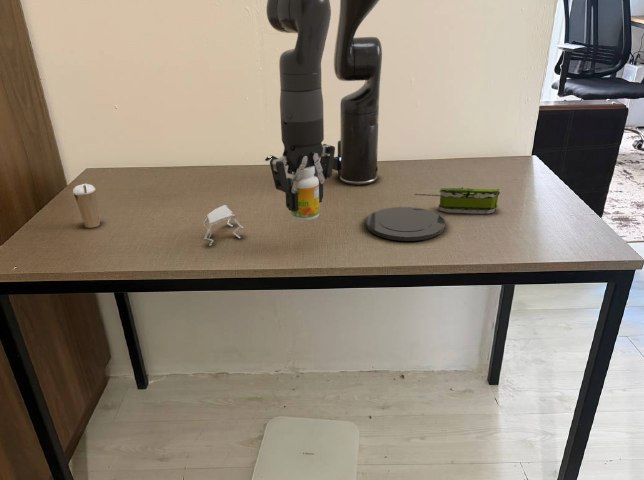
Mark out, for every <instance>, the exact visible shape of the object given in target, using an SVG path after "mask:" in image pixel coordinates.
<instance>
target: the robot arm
mask: <svg viewBox="0 0 644 480" xmlns="http://www.w3.org/2000/svg"><path fill="white" fill-rule="evenodd" d="M379 2H380V0H339V15H338V23H337V30H336V36H335V44H334V53H333V71H334V75H335V78H337V80H339V81H342V82H360V81H361V82H362V81H364V83H363V84H362V85H361V86H360V88H358V89H357V90H355V91H354V92H351V93H349V94H347V95H345V96H343V97H342V98H341V99H340V103H339V104H340V106H339V107H340V108H339V111H340V112H339V113H340V115H339V116H340V117H339V118H340V121H339V122H340V123H339V124H340V129H339V130H340V131H339V132H340V140H338V141H337V155H336V156H335V153H336V147H335V146H334V145H331V144H327V143H322V142H324V139H325V134H324V133H325V130H324V129H325V127H324V125H325V124H324V121H325V120H324V97H323V91H322V90H323V89H322V88H323V87H322V59H323V55H324V51H325V47H326V41H327V36H328V33H329V28H330V23H331V17H332V9H331V7H332V6H331V2H330V0H267V1H266V8H265V9H266V11H265V12H266V18H267V21H268V23H269V24H270V26H271V27H272V28H273V29H274V30H275V31H277V32H280V33H285V34H297V37H296V38H297V39H296V42H295V45H294V48H290V49H287V50H285V51H283V52H282V53H281V54H280V56H279V60H278V62H279V63H278V69H279V83H280V85H279V86H280V87H279V88H280V94H279V115H280V133H281V135H280V136H281V142H282V144H283V152H282V156H280V157H277V156H275V155H271V156H272V157H271V158H272V159H271V158H268V156H267V157H266V158H265V159H264V161H266V162H269V166H270V170H271V174H272V175H271V176H272V178H273V183H274V187H275V190H278V191H280V192H283V193H285V207H286V208H287V209H288V210H289V211H290V212H291V211H293V212H296V211H298V193H297V192H296V191H297V187H298V183H299V181H301V179H302V175H303V172H304V168H307V167H311V166H315V174H314V175H315V176H316V177H317V178H318V180H319V204H320V203H322V202H323V198H324V183H325V181H326V180H327V179H331V177H332V175H333V171H337V179H339V181H340V182H341V183H344V184H347V185H353V186H365V185H370V184H373V183H375V182H376V181H377V180H378V172H379V171H378V153H379V149H378V148H379V117H380V116H379V114H380V112H379V111H380V89H381V75H382V65H383V64H382V63H383V47H382V43H381V40H380V38H379V37H377V36H365V37H364V36H361V37H359V36H358V37H355V35H356V33H357V30H358V29H359V27H360V26H361V24H362V23H363V22H364V20H365V19H366V18H367V16H368V15H369V14H370V13H371V12H372V11H373V9H374V8H375V7H376V6H377V5H378V3H379ZM293 172H295V173H296V174H295V175H294V174H293ZM291 181H292V184H291Z"/></svg>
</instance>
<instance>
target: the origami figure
mask: <svg viewBox="0 0 644 480" xmlns="http://www.w3.org/2000/svg"><path fill="white" fill-rule="evenodd" d="M231 220H233V222H234V223H236V224H237V225H238V226H237V228H236V229H234V230H233V231H232V233H233V234H234V235H235V236H236V237H237V238H238V239H241V236H240V235H239V234H237V232H239V231H241V230H243V229H244V228H245V227H244V226H243V225H242V224H241V223H240V222H239V221H238V220H237V219H236V215H235V214H233V211H232V210H231V209H229V207H228V204H224V205H221V206H219V207H217V208H215V209H213V210H212V211H211V212H209V213H208V214H206V218H205V220H204V221H203V223H202V225H203V227H204V228H205V229H206V230H207V231H206V233H205V235H204V237H203V240H205V241H210V242H209V244H208V246H212V245H213V242H214V239H212V238H211V237H212V231H211V228H212V226H214V225H216V224H219V223H221V222H224V221H227V222H226V225H228V226H230V227H232V228H233V227H234V225H233V224H231V223H230V221H231ZM207 222H208V226H207V224H206V223H207Z"/></svg>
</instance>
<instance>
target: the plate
mask: <svg viewBox="0 0 644 480" xmlns="http://www.w3.org/2000/svg"><path fill="white" fill-rule="evenodd" d="M445 225H446V221H445V219H444V218H443V216H441V215H439V214H438V213H436V212H434V211H431V210H428V209H424V208H420V207H412V206H411V207H410V206H397V207H396V206H395V207H387V208H382V209H379V210H377V211H374V212H372V213H370V215H368V217H367V218H366V227H367V229H368V231H369V232H371V233H372V234H373V235H375V236H378V237H380V238H384V239H387V240H393V241H400V242H414V241H415V242H417V241H425V240H428V239H432V238H435V237H436V236H437V237H438V236H439V235H441V234H442V233H443V232H444V230H445V227H446V226H445Z"/></svg>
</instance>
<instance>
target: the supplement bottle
mask: <svg viewBox="0 0 644 480" xmlns="http://www.w3.org/2000/svg"><path fill="white" fill-rule="evenodd" d="M292 174H293V175H295V174H296V173H295V172H293V171H292ZM314 174H315V166H311V167H307V168H304V172H303V175H302V179H301V181H299V183H298V187H297V191H296V192H297V193H298V211H296V212H293V211H290V214H291V217H292V219H295V220H297V221H311V220H315V219H317V218H318V217H319V216H320V203H319V180H318V178H317V177H316V176H315V175H314ZM291 184H292V181H291Z"/></svg>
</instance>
